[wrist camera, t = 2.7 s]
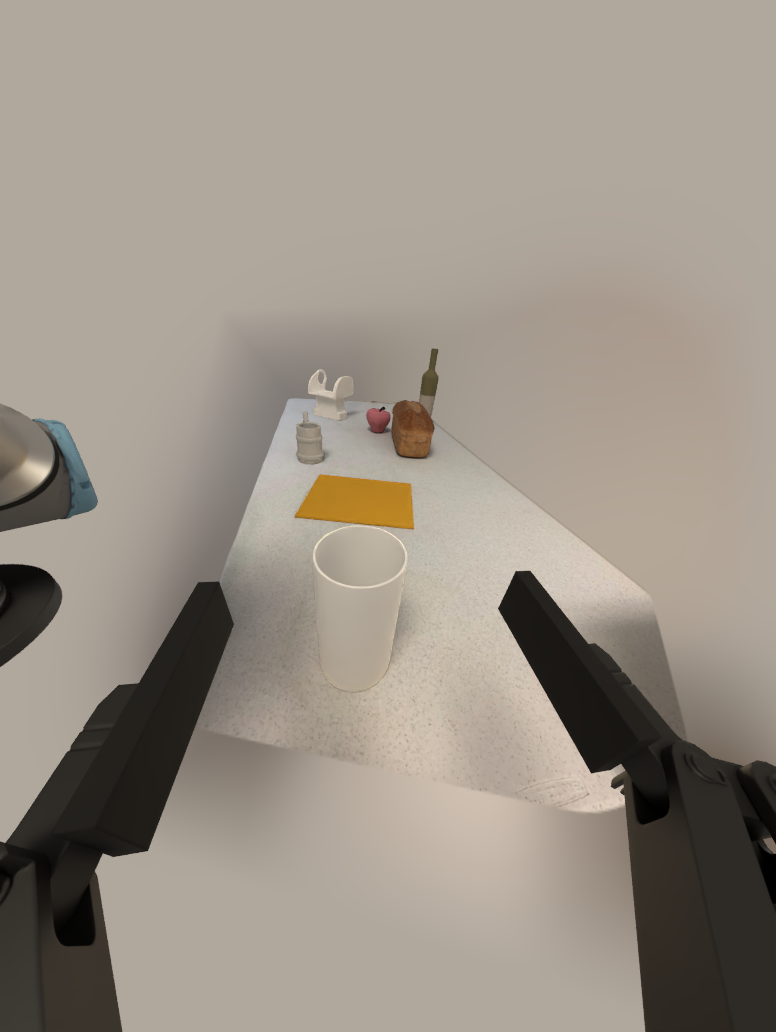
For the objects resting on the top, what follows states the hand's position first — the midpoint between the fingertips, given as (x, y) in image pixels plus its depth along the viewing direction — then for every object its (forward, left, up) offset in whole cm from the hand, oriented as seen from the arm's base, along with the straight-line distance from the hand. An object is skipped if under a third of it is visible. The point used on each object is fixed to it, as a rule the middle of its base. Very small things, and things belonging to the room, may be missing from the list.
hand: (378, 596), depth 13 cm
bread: (+6, +89, -22) cm, 91 cm away
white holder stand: (-28, +119, -22) cm, 124 cm away
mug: (-24, +69, -22) cm, 76 cm away
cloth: (-6, +47, -22) cm, 52 cm away
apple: (-6, +102, -22) cm, 104 cm away
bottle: (+14, +124, -22) cm, 126 cm away
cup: (-2, +10, -22) cm, 24 cm away
